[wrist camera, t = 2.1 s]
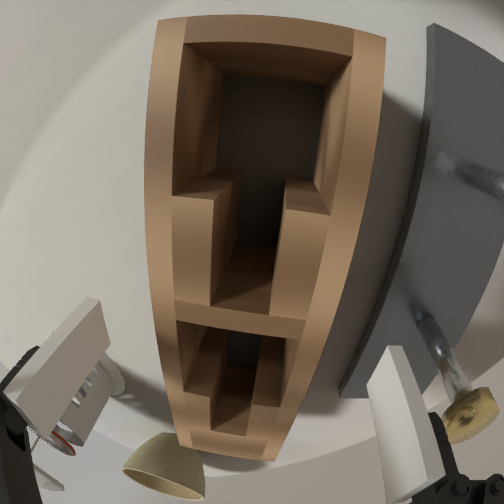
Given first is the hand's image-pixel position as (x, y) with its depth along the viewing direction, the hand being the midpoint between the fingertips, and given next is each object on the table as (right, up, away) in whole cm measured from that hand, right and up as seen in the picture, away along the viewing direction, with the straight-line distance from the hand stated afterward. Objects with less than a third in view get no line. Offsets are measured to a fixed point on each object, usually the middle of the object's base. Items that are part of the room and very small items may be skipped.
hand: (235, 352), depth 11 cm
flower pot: (-9, -19, +17) cm, 27 cm away
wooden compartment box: (+1, +3, +5) cm, 6 cm away
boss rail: (+13, +4, +3) cm, 14 cm away
